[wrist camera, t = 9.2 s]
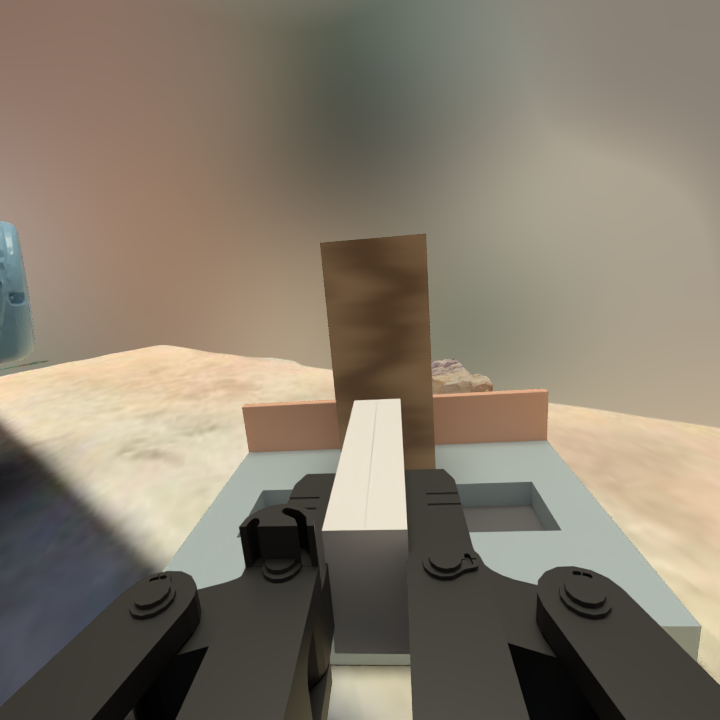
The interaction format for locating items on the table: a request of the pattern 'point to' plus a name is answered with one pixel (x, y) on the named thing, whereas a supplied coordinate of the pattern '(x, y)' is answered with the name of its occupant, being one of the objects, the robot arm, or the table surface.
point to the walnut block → (382, 333)
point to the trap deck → (475, 488)
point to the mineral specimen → (456, 379)
